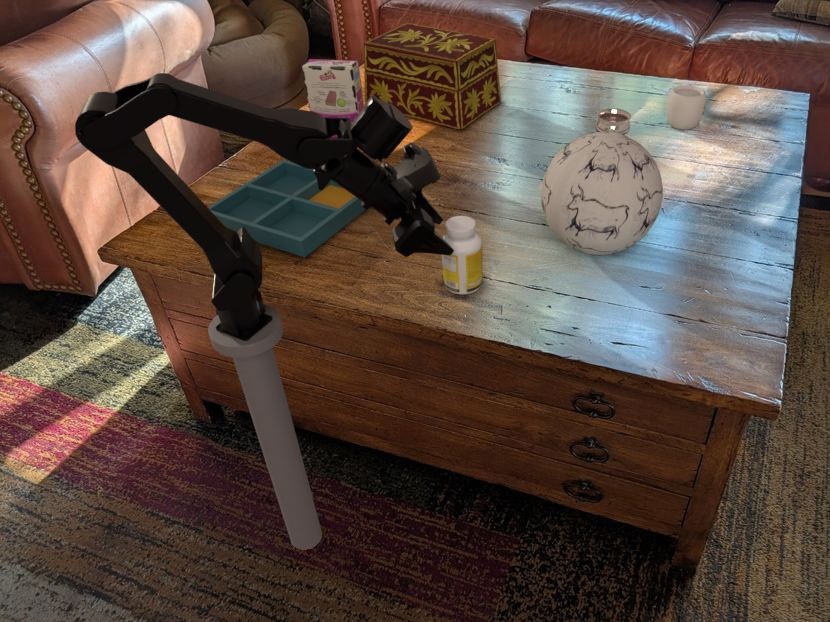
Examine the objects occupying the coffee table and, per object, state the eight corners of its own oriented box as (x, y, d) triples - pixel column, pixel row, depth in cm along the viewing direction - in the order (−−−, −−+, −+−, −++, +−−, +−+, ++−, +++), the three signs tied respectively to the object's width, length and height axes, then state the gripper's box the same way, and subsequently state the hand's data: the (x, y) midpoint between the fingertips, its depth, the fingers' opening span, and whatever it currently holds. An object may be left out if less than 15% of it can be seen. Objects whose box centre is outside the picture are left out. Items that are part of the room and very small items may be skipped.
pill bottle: (488, 277, 121) (487, 216, 113) (475, 299, 116) (473, 237, 109) (451, 270, 122) (448, 209, 115) (437, 292, 118) (433, 230, 110)
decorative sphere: (677, 254, 125) (699, 144, 112) (587, 292, 117) (599, 178, 104) (602, 206, 138) (614, 102, 125) (516, 237, 130) (519, 130, 117)
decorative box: (364, 107, 175) (356, 42, 165) (409, 82, 187) (404, 20, 177) (460, 131, 164) (458, 63, 154) (501, 102, 176) (502, 38, 166)
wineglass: (631, 174, 147) (639, 117, 139) (604, 183, 145) (611, 125, 137) (610, 162, 152) (616, 105, 144) (584, 170, 149) (589, 113, 141)
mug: (695, 136, 161) (702, 101, 155) (658, 128, 164) (663, 94, 159) (710, 116, 168) (717, 82, 163) (674, 109, 172) (680, 76, 166)
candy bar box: (368, 134, 164) (359, 59, 153) (362, 143, 160) (352, 68, 149) (321, 131, 165) (308, 57, 154) (313, 140, 161) (300, 65, 151)
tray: (304, 257, 126) (301, 241, 124) (206, 226, 134) (201, 210, 132) (379, 199, 141) (377, 183, 139) (286, 174, 149) (283, 159, 147)
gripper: (412, 168, 94) (495, 231, 103) (394, 111, 108) (469, 171, 117) (359, 228, 98) (444, 284, 107) (348, 166, 112) (424, 220, 121)
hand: (446, 236), depth 113 cm, fingers open, 9 cm apart
